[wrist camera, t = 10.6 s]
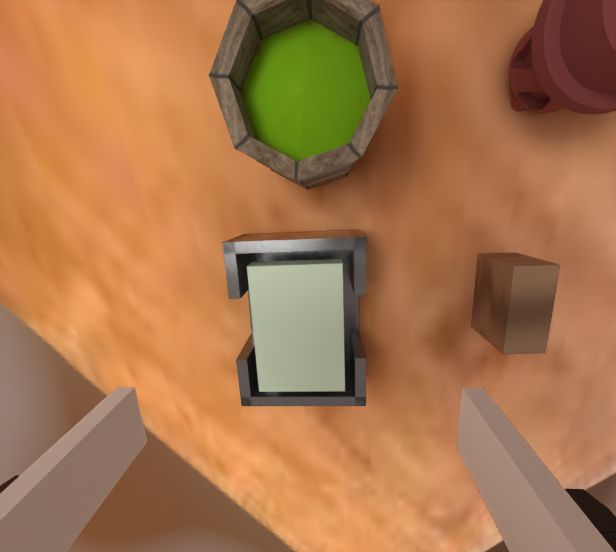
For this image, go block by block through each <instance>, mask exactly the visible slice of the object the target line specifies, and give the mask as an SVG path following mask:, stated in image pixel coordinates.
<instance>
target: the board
mask: <svg viewBox="0 0 616 552" xmlns="http://www.w3.org/2000/svg"><path fill="white" fill-rule="evenodd" d="M247 273H248V283H249V293H250V303H251V313H252V324H253V334H254V344H255V354H256V364H257V374H258V384H259V392H294V391H345V363H344V310H343V263H342V259H323V260H294V261H265V262H252V263H251V264H249V265H248V266H247Z"/></svg>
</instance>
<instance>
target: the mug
mask: <svg viewBox="0 0 616 552" xmlns="http://www.w3.org/2000/svg"><path fill="white" fill-rule="evenodd" d="M209 77H210V79H211V82H212V85H213V88H214V91H215V94H216V96H217V99H218V102H219V105H220V108H221V111H222V114H223V116H224V119H225V122H226V125H227V128H228V131H229V133H230V136H231V139H232V142H233V145H234V148H235V149H237V150H238V151H240V152H242V153H244V154H246V155H248V156H250V157H252V158H253V159H255V160H257V161H258V162H259V163H261V164H263V165H265V166H267V167H269V168H270V169H271V170H272V171H274V172H276V173H277V174H279V175H281V176H283V177H285V178H287V179H289V180H291V181H292V182H294V183H296V184H298V185H300V186H302V187H304V188H306V189H307V190H308V189H311V188H314V187H317V186H320V185H322V184H325V183H328V182H331V181H334V180H337V179H340V178H343V177H346V176H348V174H349V172H350V170H351V169H352V168H353V167H354V165H355V163H356V161H357V160H358V159H361V158H362V156H363V154H364V152H365V150H366V148H367V146H368V144H369V142H370V140H371V139H372V137H373V135H374V133H375V131H376V129H377V127H378V125H379V123H380V121H381V119H382V118H383V116H384V114H385V112H386V110H387V108H388V106H389V104H390V102H391V100H392V98H393V97H394V95H395V93H396V91H397V89H398V87H397V82H396V78H395V73H394V69H393V64H392V60H391V56H390V51H389V47H388V42H387V38H386V33H385V29H384V25H383V20H382V16H381V11H380V7H379V5H378V4H376V3H374V2H372V1H371V0H236V3H235V6H234V8H233V11H232V14H231V17H230V19H229V22H228V25H227V28H226V30H225V33H224V36H223V39H222V41H221V44H220V47H219V49H218V52H217V55H216V58H215V60H214V63H213V66H212V69H211V71H210V74H209Z"/></svg>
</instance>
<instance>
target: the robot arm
mask: <svg viewBox="0 0 616 552" xmlns="http://www.w3.org/2000/svg"><path fill="white" fill-rule="evenodd" d="M146 442H147V439H146V435H145V430H144V426H143V422H142V417H141V413H140V409H139V404H138V400H137V396H136V391H135V387H117V388H116V389H115V390H114V391H112V392H111V393H110V394H109V395H108V396H107V397H106V398H105V399H104V400H103V401H101V402H100V403H99V404H98V405H97V406H96V407H95V408H94V409H93V410H92V411H90V412H89V413H88V414H87V415H86V416H85V417H84V418H83V419H82V420H81V421H79V422H78V423H77V424H76V425H75V426H74V427H73V428H72V429H71V430H70V431H69V432H67V433H66V434H65V435H64V436H63V437H62V438H61V439H60V440H59V441H57V442H56V443H55V444H54V445H53V446H52V447H51V448H50V449H49V450H48V451H47V452H45V453H44V454H43V455H42V456H41V457H40V458H39V459H38V460H37V461H36V462H34V463H33V464H32V465H31V466H30V467H29V468H28V469H27V470H26V471H25V472H23V473H22V474H21V475H16V476H14V477H13V478H11V479H10V480H8V481H7V482H5V483H4V484H2V485H1V486H0V552H66V551H67V550H68V549H69V547H70V546H71V544H72V543H73V542H74V540H75V539H76V537H77V536H78V535H79V534H80V532H81V531H82V530H83V528H84V527H85V525H86V524H87V523H88V521H89V520H90V519H91V517H92V516H93V514H94V513H95V512H96V510H97V509H98V508H99V506H100V505H101V504H102V502H103V501H104V500H105V498H106V497H107V496H108V494H109V493H110V491H111V490H112V489H113V487H114V486H115V485H116V483H117V482H118V481H119V479H120V478H121V476H122V475H123V474H124V472H125V471H126V470H127V468H128V467H129V466H130V464H131V463H132V461H133V460H134V459H135V457H136V456H137V454H138V453H139V452H140V451H141V449H142V448H143V446H144V445H145V444H146ZM456 447H457V449H458V451H459V453H460V455H461V457H462V459H463V461H464V463H465V465H466V467H467V469H468V471H469V473H470V475H471V477H472V479H473V481H474V483H475V485H476V487H477V489H478V491H479V493H480V494H481V496H482V498H483V500H484V502H485V504H486V506H487V508H488V510H489V512H490V514H491V516H492V518H493V520H494V522H495V524H496V526H497V528H498V530H499V532H500V534H501V536H502V538H503V540H504V542H505V543H506V546H507V548H508V550H509V551H510V552H616V517H615V515H613V513H612V512H611V511H610V510H609V509H608V508H607V507H606V506H604V505H603V504H602V503H600V502H599V501H598V500H596V499H595V498H594V497H593V496H591V495H590V494H589V493H587V492H586V491H585V490H584V489H564V488H563V486H562V485H561V484H560V483H559V482H558V480H557V479H556V478H555V477H554V475H553V474H552V473H551V472H550V470H549V469H548V468H547V467H546V465H545V464H544V463H543V462H542V460H541V459H540V458H539V457H538V455H537V454H536V453H535V452H534V450H533V449H532V448H531V447H530V445H529V444H528V443H527V442H526V440H525V439H524V438H523V437H522V435H521V434H520V433H519V432H518V430H517V429H516V428H515V427H514V425H513V424H512V423H511V422H510V420H509V419H508V418H507V417H506V415H505V414H504V413H503V412H502V411H501V409H500V408H499V407H498V406H497V404H496V403H495V402H494V401H493V399H492V398H491V397H490V396H489V394H488V393H487V392H486V391H485V389H484V388H462V397H461V406H460V416H459V425H458V435H457V444H456Z"/></svg>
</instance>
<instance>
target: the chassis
mask: <svg viewBox="0 0 616 552" xmlns="http://www.w3.org/2000/svg"><path fill="white" fill-rule="evenodd" d="M223 250H224V259H225V268H226V276H227V285H228V293H229V299H239V298H241V297H242V296H243V295H244V294H245V293H246V291H247V290H248V298H249V308H250V318H251V328H252V333H251V335H250V337H249V338H248V340H247V342H246V344H245V345H244V347H243V349H242V351H241V352H240V354H239V356H238V358H237V359H236V362H237V370H238V379H239V387H240V396H241V405H242V406H366V356H365V352H364V348H363V344H362V340H361V336H360V333H359V295H366V236H365V235H364V234H362V233H361V232H360V231H359V230H334V231H310V232H286V233H262V234H243V235H240V236H238V237H235V238H233V239H230V240H228V241H225V242H223ZM323 259H342V263H343V310H344V363H345V391H294V392H259V384H258V374H257V364H256V354H255V344H254V334H253V324H252V313H251V303H250V293H249V283H248V273H247V266H248V265H249V264H251V263H252V262H265V261H294V260H323Z"/></svg>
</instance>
